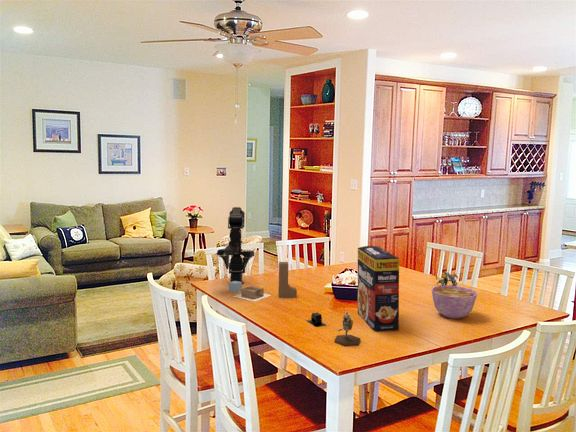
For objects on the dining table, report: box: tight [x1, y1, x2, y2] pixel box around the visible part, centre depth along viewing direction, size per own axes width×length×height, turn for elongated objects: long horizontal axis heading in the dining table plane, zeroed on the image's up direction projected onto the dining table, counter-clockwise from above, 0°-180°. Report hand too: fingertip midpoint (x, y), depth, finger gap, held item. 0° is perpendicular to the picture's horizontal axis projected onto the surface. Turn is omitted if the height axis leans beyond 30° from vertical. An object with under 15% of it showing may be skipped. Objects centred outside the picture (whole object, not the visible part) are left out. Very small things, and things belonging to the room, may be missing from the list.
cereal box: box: [357, 245, 400, 332], centre depth 217 cm, size 27×11×32 cm, turn 8°
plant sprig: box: [435, 270, 459, 286], centre depth 278 cm, size 11×11×12 cm
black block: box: [305, 312, 328, 328], centre depth 216 cm, size 12×7×5 cm, turn 26°
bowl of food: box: [431, 285, 478, 319], centre depth 229 cm, size 20×20×12 cm
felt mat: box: [232, 293, 271, 302], centre depth 254 cm, size 14×14×1 cm
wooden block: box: [277, 261, 298, 299], centre depth 253 cm, size 9×4×18 cm, turn 95°
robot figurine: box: [333, 312, 361, 347], centre depth 194 cm, size 11×9×12 cm
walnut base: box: [240, 285, 265, 300], centre depth 252 cm, size 8×8×4 cm
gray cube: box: [227, 281, 243, 293], centre depth 263 cm, size 5×5×5 cm
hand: (235, 269), depth 255 cm, fingers open, 9 cm apart
